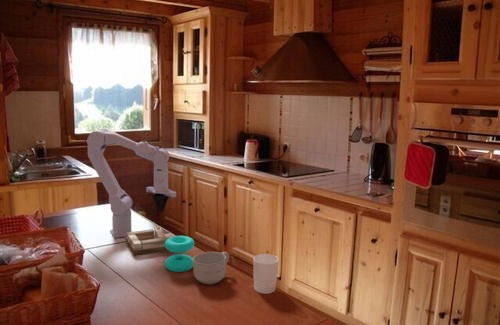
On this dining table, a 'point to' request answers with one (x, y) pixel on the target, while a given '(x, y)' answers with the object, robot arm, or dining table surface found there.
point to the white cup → (265, 273)
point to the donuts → (179, 260)
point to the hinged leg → (159, 233)
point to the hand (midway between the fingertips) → (161, 211)
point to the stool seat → (145, 242)
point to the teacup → (210, 266)
